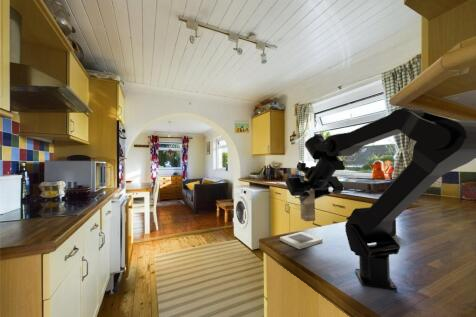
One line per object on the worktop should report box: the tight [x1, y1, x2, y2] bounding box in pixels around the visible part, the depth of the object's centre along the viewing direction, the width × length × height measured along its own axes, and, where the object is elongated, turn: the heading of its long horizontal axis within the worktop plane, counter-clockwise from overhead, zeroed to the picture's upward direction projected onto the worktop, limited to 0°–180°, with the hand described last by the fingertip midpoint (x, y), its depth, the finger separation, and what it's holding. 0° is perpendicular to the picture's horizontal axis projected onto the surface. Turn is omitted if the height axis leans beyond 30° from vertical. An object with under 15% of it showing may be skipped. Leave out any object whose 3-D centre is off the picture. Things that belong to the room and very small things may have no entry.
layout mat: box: [279, 231, 324, 250], centre depth 70 cm, size 11×9×1 cm
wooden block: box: [299, 189, 316, 222], centre depth 72 cm, size 4×4×12 cm
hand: (305, 200), depth 73 cm, fingers closed on wooden block, 3 cm apart
